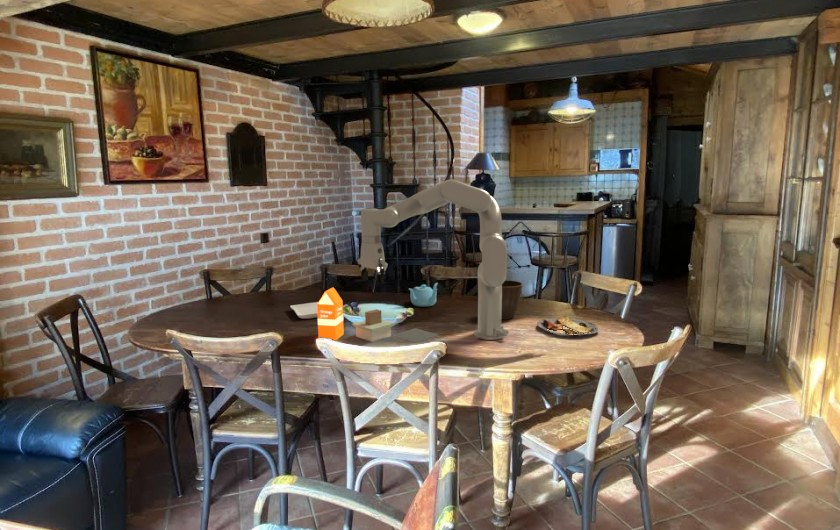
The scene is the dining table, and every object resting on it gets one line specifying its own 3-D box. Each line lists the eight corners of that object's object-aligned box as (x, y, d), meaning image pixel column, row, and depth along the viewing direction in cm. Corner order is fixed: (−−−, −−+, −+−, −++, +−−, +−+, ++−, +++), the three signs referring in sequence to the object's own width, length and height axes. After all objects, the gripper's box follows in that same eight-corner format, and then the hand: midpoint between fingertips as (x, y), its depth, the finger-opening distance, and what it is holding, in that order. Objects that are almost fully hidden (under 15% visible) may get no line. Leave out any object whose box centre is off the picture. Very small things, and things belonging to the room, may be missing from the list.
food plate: (527, 324, 228) (527, 317, 228) (571, 320, 237) (572, 312, 236) (561, 343, 205) (562, 334, 205) (609, 336, 214) (610, 328, 213)
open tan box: (391, 337, 213) (390, 325, 212) (372, 342, 206) (372, 330, 205) (375, 332, 220) (374, 320, 219) (356, 337, 213) (356, 325, 212)
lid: (394, 325, 212) (394, 311, 211) (371, 331, 204) (371, 316, 203) (375, 320, 220) (374, 306, 219) (352, 325, 212) (352, 311, 211)
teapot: (411, 300, 275) (411, 281, 274) (439, 301, 274) (439, 282, 272) (408, 307, 261) (407, 287, 259) (438, 308, 260) (438, 288, 258)
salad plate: (298, 322, 238) (298, 314, 237) (289, 311, 257) (289, 304, 256) (343, 316, 246) (343, 309, 246) (331, 306, 266) (331, 300, 265)
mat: (439, 335, 214) (439, 334, 214) (415, 343, 204) (415, 342, 204) (415, 329, 224) (415, 328, 224) (391, 336, 214) (391, 335, 214)
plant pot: (495, 322, 233) (496, 287, 230) (484, 314, 247) (485, 281, 245) (526, 320, 236) (527, 285, 233) (514, 312, 250) (515, 279, 248)
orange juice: (344, 333, 218) (342, 287, 215) (336, 340, 210) (334, 291, 206) (326, 332, 220) (324, 286, 217) (318, 339, 211) (315, 291, 208)
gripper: (393, 240, 203) (394, 283, 206) (364, 237, 215) (366, 278, 218) (378, 242, 197) (379, 286, 200) (350, 239, 209) (351, 280, 212)
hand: (372, 282), depth 209 cm, fingers open, 9 cm apart
